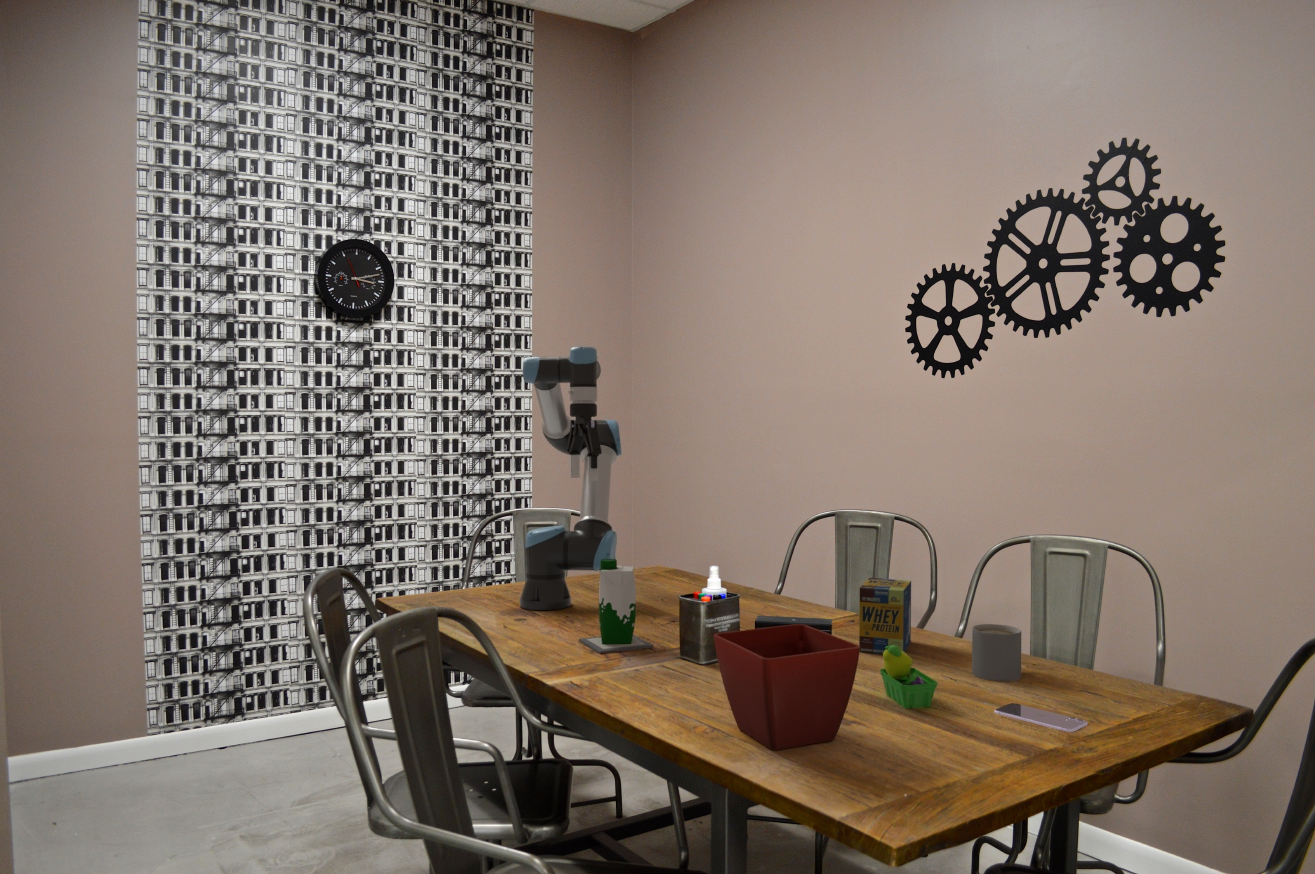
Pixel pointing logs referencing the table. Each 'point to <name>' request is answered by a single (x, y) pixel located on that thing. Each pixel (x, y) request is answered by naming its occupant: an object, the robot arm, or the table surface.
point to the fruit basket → (906, 680)
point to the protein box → (884, 615)
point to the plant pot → (787, 682)
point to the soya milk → (616, 602)
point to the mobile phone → (1041, 717)
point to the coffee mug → (996, 652)
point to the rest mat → (614, 645)
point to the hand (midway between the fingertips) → (583, 479)
